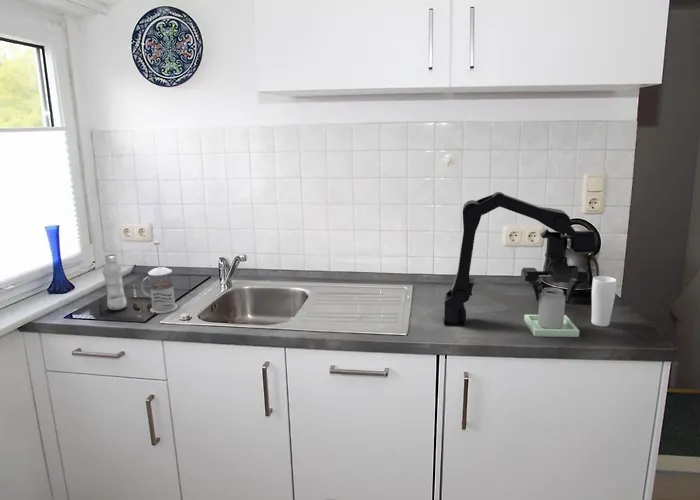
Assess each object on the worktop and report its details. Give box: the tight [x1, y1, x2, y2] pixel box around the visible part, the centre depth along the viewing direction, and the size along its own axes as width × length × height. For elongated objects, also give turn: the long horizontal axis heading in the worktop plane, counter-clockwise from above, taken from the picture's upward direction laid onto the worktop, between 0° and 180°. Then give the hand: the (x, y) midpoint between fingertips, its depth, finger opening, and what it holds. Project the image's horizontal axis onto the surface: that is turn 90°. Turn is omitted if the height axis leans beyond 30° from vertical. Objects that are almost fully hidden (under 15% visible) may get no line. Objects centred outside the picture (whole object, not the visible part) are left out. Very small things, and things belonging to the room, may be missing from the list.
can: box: [537, 287, 567, 329], centre depth 161 cm, size 8×8×12 cm
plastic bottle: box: [102, 253, 127, 311], centre depth 185 cm, size 6×7×20 cm
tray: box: [523, 314, 580, 338], centre depth 162 cm, size 13×13×2 cm
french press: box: [140, 240, 179, 314], centre depth 184 cm, size 10×12×25 cm
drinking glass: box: [590, 275, 617, 328], centre depth 163 cm, size 7×7×15 cm
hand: (552, 301), depth 160 cm, fingers open, 9 cm apart
